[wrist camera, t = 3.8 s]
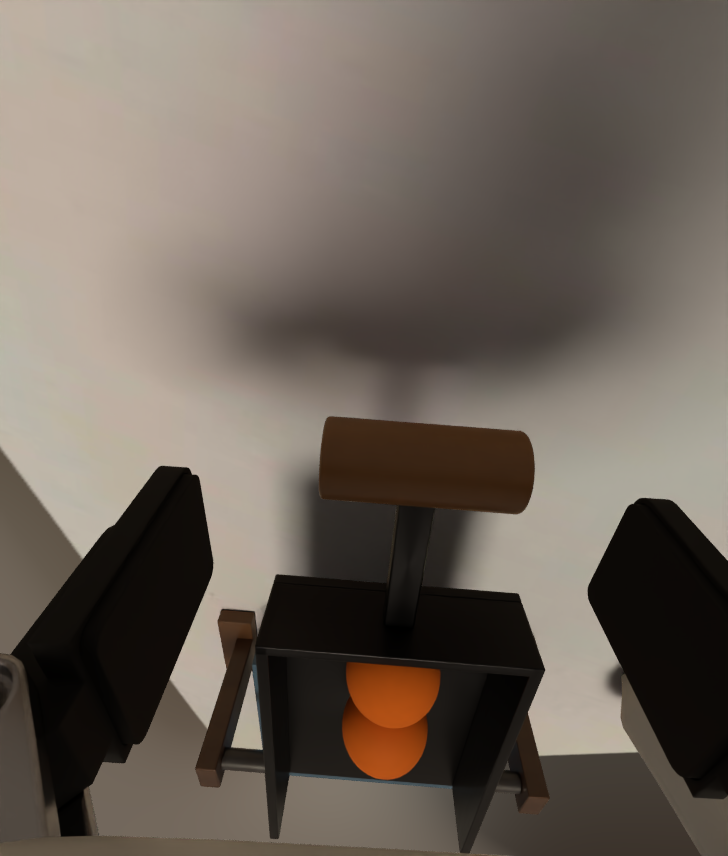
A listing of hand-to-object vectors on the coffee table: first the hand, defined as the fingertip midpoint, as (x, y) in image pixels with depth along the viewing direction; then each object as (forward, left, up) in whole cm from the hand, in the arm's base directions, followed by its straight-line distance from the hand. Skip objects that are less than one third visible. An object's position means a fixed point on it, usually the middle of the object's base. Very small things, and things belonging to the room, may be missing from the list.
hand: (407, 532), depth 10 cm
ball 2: (+11, 0, -1) cm, 11 cm away
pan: (+9, 0, -3) cm, 9 cm away
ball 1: (+8, 0, -1) cm, 8 cm away
